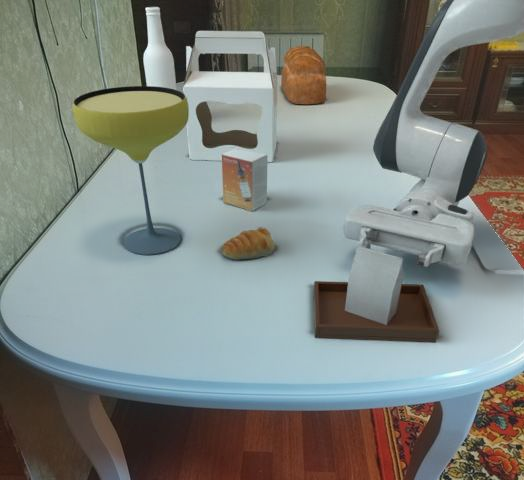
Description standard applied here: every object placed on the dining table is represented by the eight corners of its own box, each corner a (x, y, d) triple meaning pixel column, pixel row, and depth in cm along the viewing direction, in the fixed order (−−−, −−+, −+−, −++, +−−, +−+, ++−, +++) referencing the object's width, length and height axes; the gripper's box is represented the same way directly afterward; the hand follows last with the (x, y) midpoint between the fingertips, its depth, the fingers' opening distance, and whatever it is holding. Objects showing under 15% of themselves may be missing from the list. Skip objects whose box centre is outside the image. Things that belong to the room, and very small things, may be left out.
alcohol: (157, 127, 155) (142, 9, 136) (147, 120, 161) (132, 6, 142) (183, 123, 158) (173, 8, 139) (173, 116, 164) (161, 5, 145)
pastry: (232, 266, 89) (231, 247, 86) (215, 251, 93) (214, 232, 91) (278, 253, 92) (278, 234, 90) (259, 239, 97) (259, 220, 94)
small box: (222, 203, 110) (220, 154, 103) (238, 195, 114) (236, 146, 107) (252, 212, 106) (252, 161, 100) (267, 203, 110) (268, 153, 103)
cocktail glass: (216, 248, 94) (206, 102, 78) (123, 275, 86) (91, 119, 71) (175, 213, 106) (160, 81, 90) (90, 234, 98) (57, 94, 83)
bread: (315, 87, 196) (317, 41, 186) (327, 104, 176) (331, 53, 166) (279, 88, 195) (280, 42, 185) (288, 105, 175) (289, 54, 165)
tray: (420, 295, 81) (423, 284, 80) (436, 342, 72) (439, 330, 71) (313, 292, 82) (314, 280, 81) (314, 337, 73) (315, 326, 71)
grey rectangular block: (386, 324, 74) (397, 264, 68) (344, 310, 77) (351, 251, 71) (395, 312, 77) (407, 253, 70) (355, 299, 79) (362, 241, 73)
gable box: (188, 160, 132) (176, 34, 114) (198, 144, 142) (188, 26, 124) (273, 162, 130) (275, 35, 112) (277, 146, 140) (279, 27, 123)
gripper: (362, 190, 88) (330, 220, 78) (484, 214, 80) (465, 251, 71) (358, 224, 92) (327, 256, 82) (474, 250, 84) (454, 289, 74)
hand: (392, 254), depth 76 cm, fingers open, 8 cm apart
